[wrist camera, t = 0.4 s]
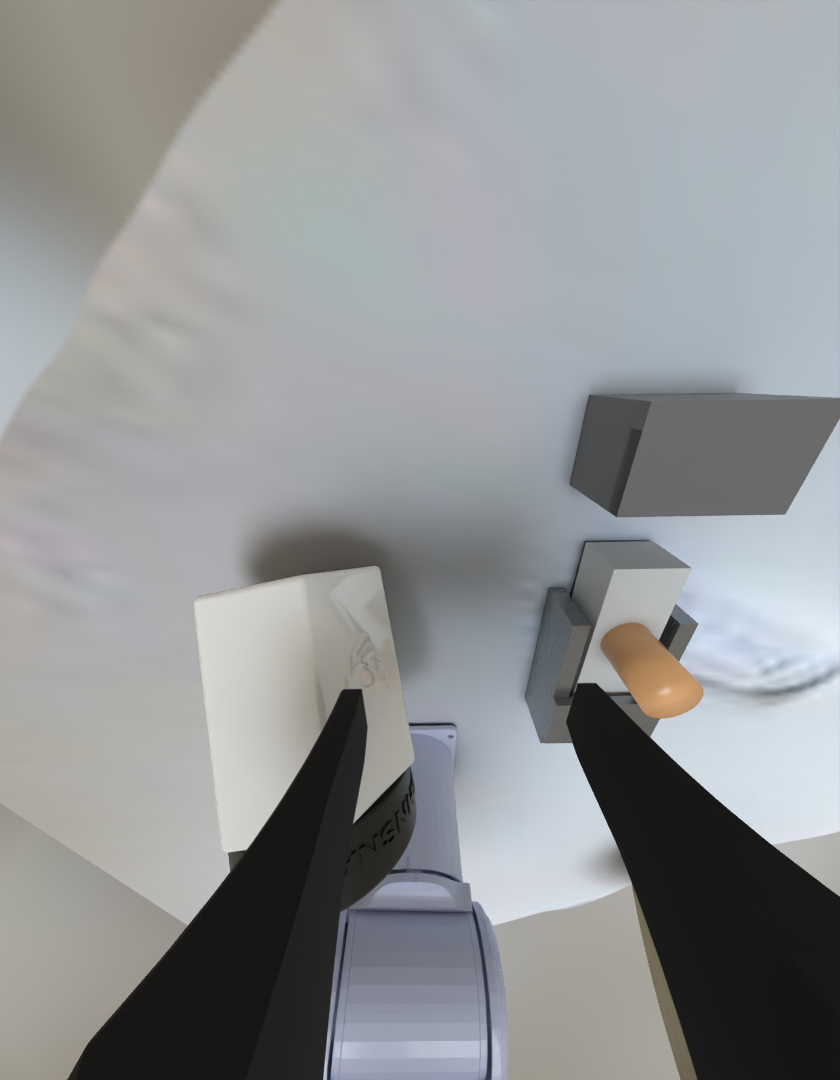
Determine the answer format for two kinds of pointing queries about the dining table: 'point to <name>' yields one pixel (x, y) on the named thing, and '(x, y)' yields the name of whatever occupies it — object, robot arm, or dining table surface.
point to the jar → (305, 707)
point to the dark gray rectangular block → (700, 452)
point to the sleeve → (561, 659)
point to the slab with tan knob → (633, 625)
